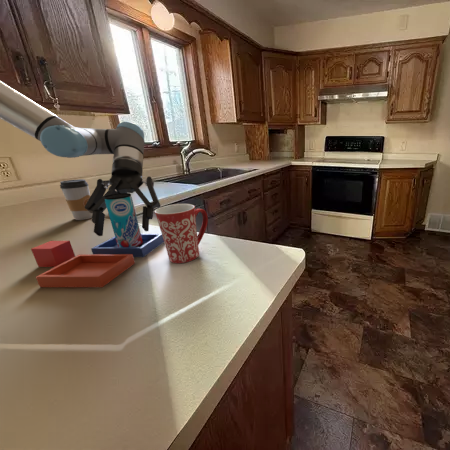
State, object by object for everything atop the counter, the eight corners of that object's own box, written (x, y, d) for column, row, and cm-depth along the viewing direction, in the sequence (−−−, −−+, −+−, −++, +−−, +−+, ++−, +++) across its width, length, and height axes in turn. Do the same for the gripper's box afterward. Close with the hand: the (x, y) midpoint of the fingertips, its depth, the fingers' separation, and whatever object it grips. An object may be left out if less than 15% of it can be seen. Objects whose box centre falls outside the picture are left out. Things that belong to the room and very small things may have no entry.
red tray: (40, 287, 52) (35, 276, 51) (82, 263, 62) (79, 254, 61) (102, 287, 52) (98, 276, 51) (135, 263, 62) (132, 254, 61)
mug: (176, 269, 59) (165, 215, 54) (159, 259, 64) (147, 209, 59) (220, 250, 68) (214, 203, 63) (202, 243, 73) (195, 199, 69)
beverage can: (119, 253, 66) (103, 199, 61) (118, 246, 71) (104, 195, 66) (144, 247, 69) (131, 195, 64) (142, 241, 74) (130, 192, 69)
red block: (38, 267, 61) (30, 248, 59) (57, 257, 65) (51, 240, 64) (57, 267, 61) (50, 248, 59) (75, 257, 65) (69, 240, 64)
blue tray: (93, 257, 65) (90, 248, 64) (121, 241, 75) (119, 233, 74) (143, 257, 65) (141, 248, 64) (165, 241, 75) (163, 233, 74)
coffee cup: (86, 220, 95) (74, 182, 90) (65, 221, 96) (51, 182, 91) (102, 214, 103) (92, 179, 98) (83, 214, 103) (72, 179, 98)
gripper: (172, 171, 81) (172, 232, 72) (90, 175, 74) (79, 242, 66) (165, 156, 74) (165, 220, 65) (75, 158, 68) (61, 230, 59)
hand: (122, 231), depth 65 cm, fingers open, 10 cm apart
